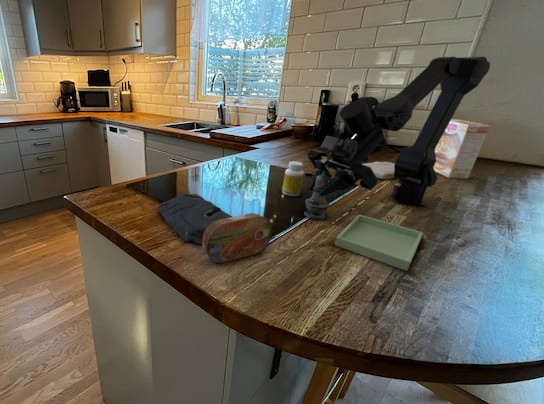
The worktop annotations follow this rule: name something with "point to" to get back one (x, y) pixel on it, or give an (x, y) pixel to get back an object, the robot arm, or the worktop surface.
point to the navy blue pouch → (190, 215)
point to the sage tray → (380, 241)
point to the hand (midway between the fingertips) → (315, 192)
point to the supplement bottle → (293, 179)
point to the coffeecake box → (459, 148)
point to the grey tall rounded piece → (317, 199)
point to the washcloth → (382, 169)
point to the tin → (236, 237)
